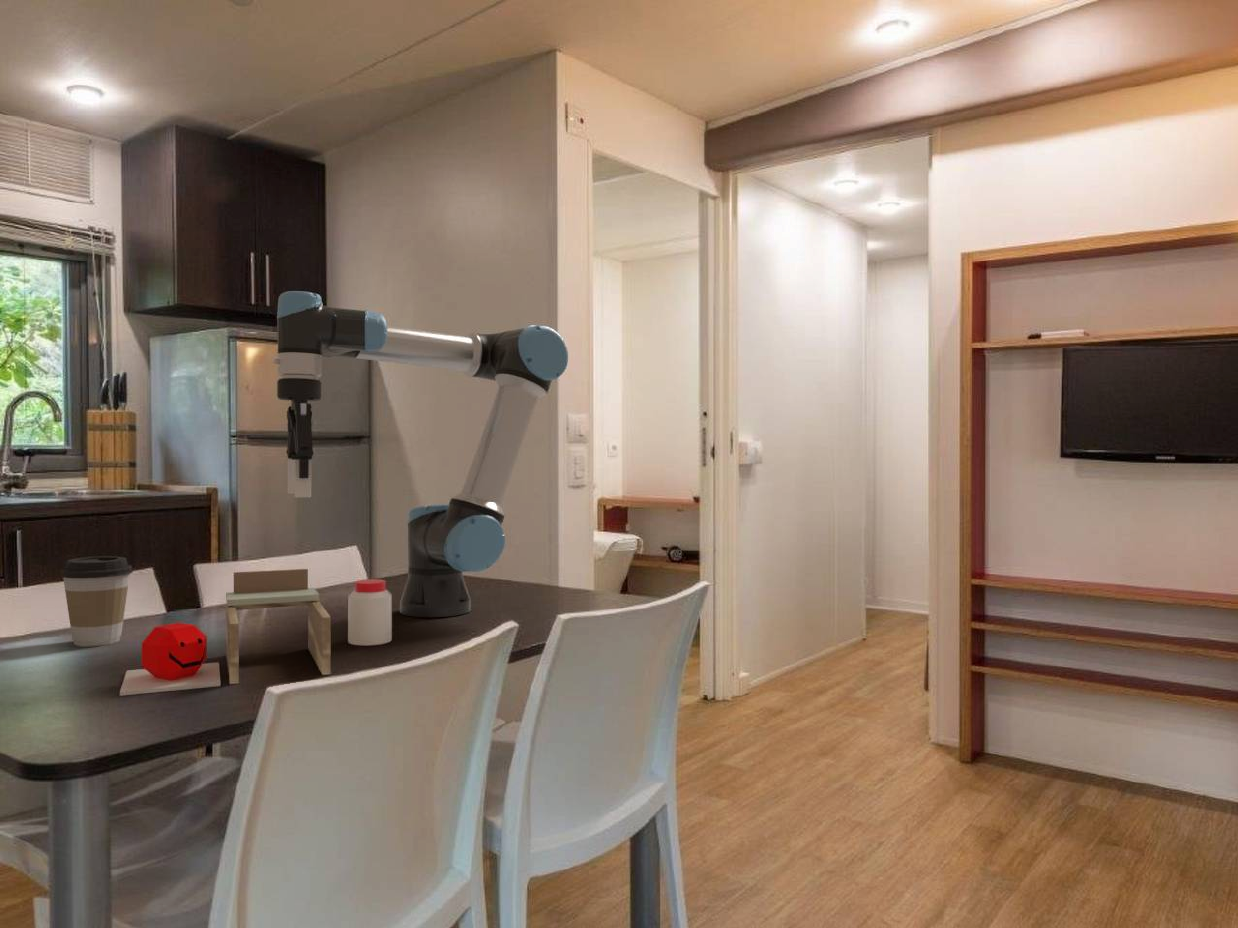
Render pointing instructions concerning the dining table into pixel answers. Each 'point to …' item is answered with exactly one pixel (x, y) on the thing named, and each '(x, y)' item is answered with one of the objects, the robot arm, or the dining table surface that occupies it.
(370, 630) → the pill bottle
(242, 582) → the cover
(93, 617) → the coffee cup
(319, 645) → the wooden goalpost gate
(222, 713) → the dining table surface
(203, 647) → the ball
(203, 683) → the mat
